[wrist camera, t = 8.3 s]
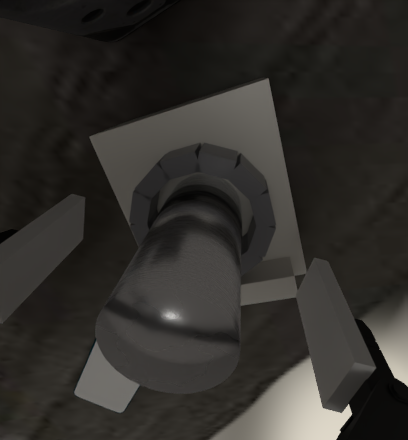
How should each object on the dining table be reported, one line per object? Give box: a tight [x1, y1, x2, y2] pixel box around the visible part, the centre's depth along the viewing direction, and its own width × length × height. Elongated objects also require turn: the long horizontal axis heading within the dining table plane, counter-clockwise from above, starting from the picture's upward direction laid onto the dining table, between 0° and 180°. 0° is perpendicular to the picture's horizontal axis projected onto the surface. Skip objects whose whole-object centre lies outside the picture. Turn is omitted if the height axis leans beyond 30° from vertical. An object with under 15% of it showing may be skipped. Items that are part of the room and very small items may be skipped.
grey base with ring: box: [89, 77, 307, 306], centre depth 23 cm, size 14×12×9 cm
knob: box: [95, 174, 242, 394], centre depth 16 cm, size 5×5×12 cm
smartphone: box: [74, 339, 140, 413], centre depth 40 cm, size 8×1×16 cm
